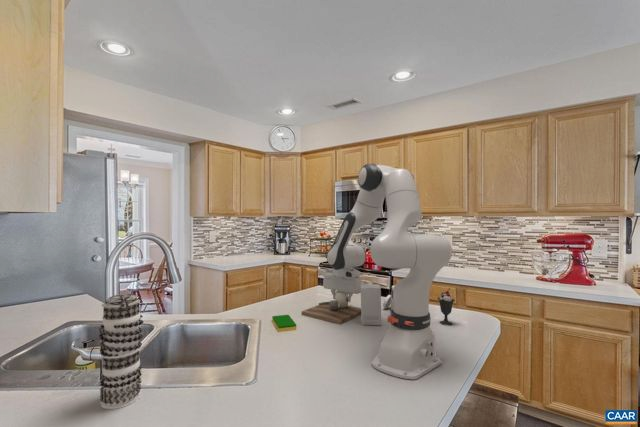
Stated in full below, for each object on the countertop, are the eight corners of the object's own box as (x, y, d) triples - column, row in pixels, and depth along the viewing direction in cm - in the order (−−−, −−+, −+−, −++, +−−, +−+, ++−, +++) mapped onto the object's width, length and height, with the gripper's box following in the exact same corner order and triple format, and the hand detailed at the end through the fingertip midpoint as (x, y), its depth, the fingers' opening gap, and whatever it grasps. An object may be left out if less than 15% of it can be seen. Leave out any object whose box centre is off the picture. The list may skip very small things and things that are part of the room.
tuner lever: (337, 311, 142) (337, 296, 142) (326, 308, 146) (326, 294, 146) (350, 305, 151) (350, 291, 151) (340, 303, 154) (340, 290, 155)
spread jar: (408, 315, 142) (408, 289, 142) (382, 314, 145) (382, 288, 145) (406, 308, 154) (406, 284, 154) (383, 306, 156) (383, 282, 156)
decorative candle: (150, 388, 82) (150, 291, 82) (129, 409, 73) (130, 301, 73) (114, 388, 82) (114, 291, 82) (89, 410, 73) (89, 301, 73)
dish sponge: (278, 333, 122) (278, 326, 122) (272, 321, 135) (272, 315, 135) (296, 330, 124) (296, 324, 124) (288, 319, 138) (288, 314, 138)
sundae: (452, 327, 128) (452, 289, 128) (435, 323, 132) (435, 287, 132) (456, 322, 133) (456, 286, 133) (440, 319, 137) (440, 284, 137)
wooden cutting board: (340, 324, 130) (340, 318, 130) (301, 314, 143) (301, 309, 143) (365, 312, 147) (365, 306, 147) (328, 304, 160) (328, 299, 160)
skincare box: (380, 320, 135) (380, 284, 135) (381, 326, 129) (381, 287, 129) (360, 320, 136) (360, 283, 136) (360, 325, 130) (361, 287, 130)
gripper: (320, 269, 154) (320, 298, 154) (356, 274, 142) (356, 305, 142) (327, 268, 159) (327, 295, 159) (363, 272, 147) (363, 302, 147)
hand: (341, 300), depth 150 cm, fingers closed on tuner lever, 6 cm apart
